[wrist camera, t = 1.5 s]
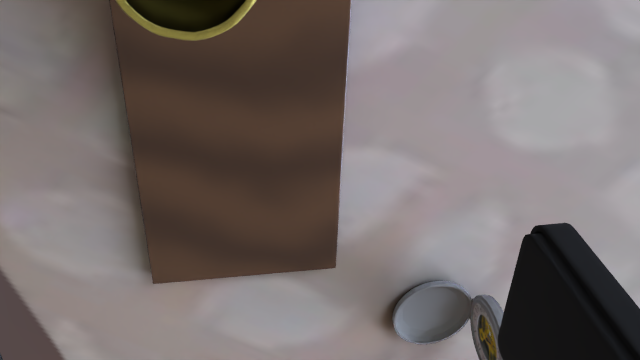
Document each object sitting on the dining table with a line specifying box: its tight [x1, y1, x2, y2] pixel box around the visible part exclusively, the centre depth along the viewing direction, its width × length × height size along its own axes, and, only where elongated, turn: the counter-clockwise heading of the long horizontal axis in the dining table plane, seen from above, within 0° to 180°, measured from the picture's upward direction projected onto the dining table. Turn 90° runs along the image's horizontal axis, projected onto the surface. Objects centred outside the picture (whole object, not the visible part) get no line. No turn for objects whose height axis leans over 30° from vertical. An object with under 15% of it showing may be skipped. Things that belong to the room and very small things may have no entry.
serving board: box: [109, 0, 352, 284], centre depth 39 cm, size 20×13×1 cm, turn 178°
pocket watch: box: [392, 280, 504, 360], centre depth 46 cm, size 8×8×10 cm
